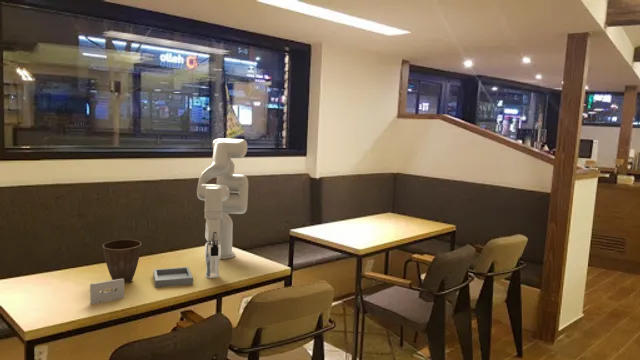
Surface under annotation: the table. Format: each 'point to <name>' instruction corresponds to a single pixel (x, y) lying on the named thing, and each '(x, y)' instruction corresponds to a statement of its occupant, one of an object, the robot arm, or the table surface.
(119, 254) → the plant pot
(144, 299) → the table surface
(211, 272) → the beer glass
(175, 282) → the serving tray
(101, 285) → the cassette
